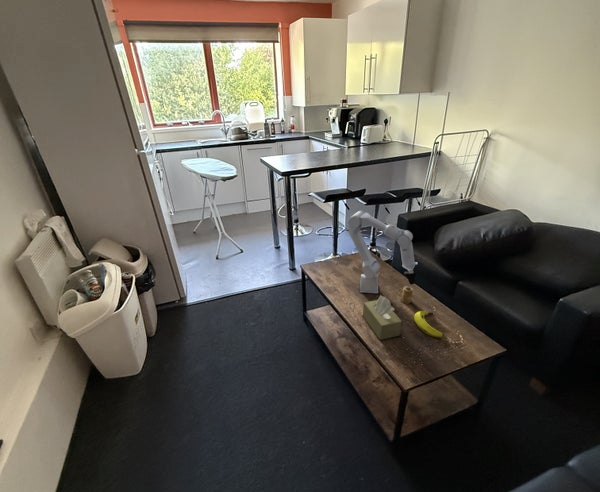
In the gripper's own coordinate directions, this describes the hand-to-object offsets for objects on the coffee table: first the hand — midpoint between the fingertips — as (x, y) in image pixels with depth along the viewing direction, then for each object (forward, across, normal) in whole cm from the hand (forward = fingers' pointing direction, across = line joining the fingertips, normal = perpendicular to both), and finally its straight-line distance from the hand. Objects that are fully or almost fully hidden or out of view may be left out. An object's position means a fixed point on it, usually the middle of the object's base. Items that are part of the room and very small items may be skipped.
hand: (411, 280), depth 159 cm
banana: (+15, -19, -4) cm, 25 cm away
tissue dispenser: (+10, -22, +18) cm, 30 cm away
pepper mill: (+11, 0, +4) cm, 12 cm away
